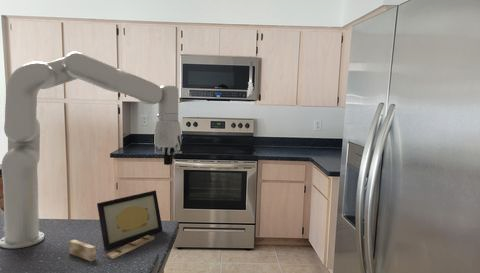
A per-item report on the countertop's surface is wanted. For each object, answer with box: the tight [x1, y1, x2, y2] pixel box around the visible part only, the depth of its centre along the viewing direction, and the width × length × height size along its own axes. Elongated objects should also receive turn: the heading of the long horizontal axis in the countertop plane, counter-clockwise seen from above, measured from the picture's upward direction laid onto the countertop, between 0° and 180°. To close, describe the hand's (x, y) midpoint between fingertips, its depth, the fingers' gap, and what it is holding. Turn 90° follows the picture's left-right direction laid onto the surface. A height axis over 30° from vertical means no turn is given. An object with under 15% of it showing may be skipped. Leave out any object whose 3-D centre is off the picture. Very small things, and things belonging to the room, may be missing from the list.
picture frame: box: [96, 190, 163, 251], centre depth 120 cm, size 23×9×15 cm, turn 143°
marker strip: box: [105, 235, 155, 260], centre depth 111 cm, size 3×18×1 cm, turn 152°
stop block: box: [69, 239, 97, 262], centre depth 103 cm, size 10×2×4 cm, turn 62°
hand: (168, 164), depth 132 cm, fingers closed
